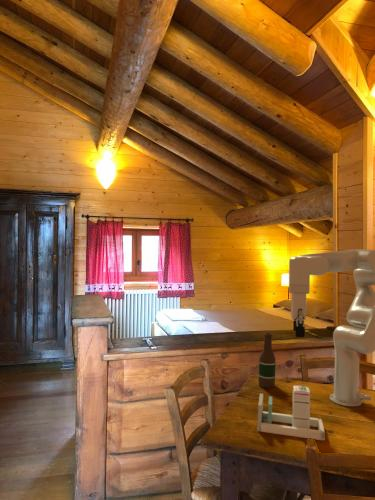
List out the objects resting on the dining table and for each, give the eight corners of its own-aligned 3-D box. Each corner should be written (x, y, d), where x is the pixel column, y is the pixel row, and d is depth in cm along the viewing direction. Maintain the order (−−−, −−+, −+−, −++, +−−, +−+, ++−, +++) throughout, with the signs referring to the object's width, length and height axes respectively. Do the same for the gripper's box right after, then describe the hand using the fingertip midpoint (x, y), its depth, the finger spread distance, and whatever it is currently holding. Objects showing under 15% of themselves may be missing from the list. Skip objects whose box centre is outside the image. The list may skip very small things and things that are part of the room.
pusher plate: (271, 421, 140) (272, 396, 140) (271, 430, 132) (271, 404, 132) (263, 420, 140) (264, 395, 140) (262, 429, 133) (263, 403, 133)
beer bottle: (262, 389, 172) (264, 335, 172) (254, 382, 179) (256, 331, 179) (278, 387, 174) (280, 335, 174) (269, 381, 181) (271, 331, 181)
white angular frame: (321, 425, 137) (322, 400, 137) (324, 440, 127) (325, 413, 126) (259, 417, 142) (259, 393, 142) (257, 431, 132) (258, 405, 132)
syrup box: (309, 434, 130) (311, 392, 130) (291, 432, 132) (293, 390, 132) (308, 427, 136) (309, 386, 136) (291, 424, 137) (292, 384, 137)
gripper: (287, 286, 155) (287, 328, 155) (290, 291, 138) (290, 339, 138) (306, 286, 153) (306, 329, 154) (312, 292, 136) (311, 340, 137)
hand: (298, 333), depth 146 cm, fingers open, 9 cm apart
